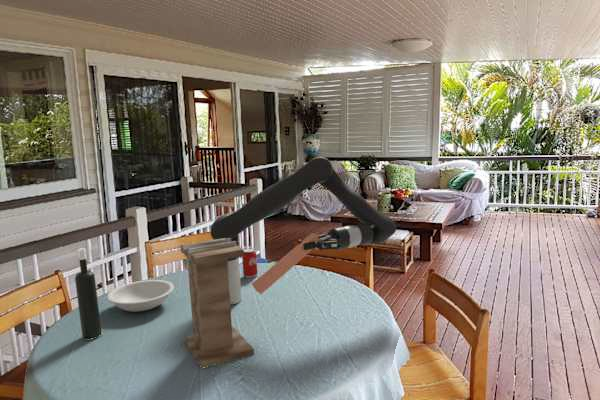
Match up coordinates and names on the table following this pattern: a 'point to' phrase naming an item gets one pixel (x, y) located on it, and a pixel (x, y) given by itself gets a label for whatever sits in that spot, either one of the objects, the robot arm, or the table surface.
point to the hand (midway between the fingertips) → (301, 245)
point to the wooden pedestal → (213, 303)
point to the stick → (283, 265)
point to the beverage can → (249, 263)
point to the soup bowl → (140, 295)
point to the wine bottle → (87, 299)
